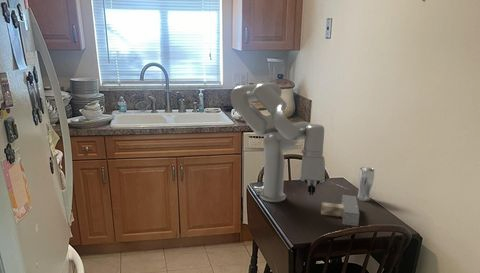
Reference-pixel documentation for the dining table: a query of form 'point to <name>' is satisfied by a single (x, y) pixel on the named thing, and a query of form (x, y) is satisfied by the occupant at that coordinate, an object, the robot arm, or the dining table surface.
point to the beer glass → (365, 183)
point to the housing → (350, 210)
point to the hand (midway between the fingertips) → (311, 193)
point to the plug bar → (332, 209)
